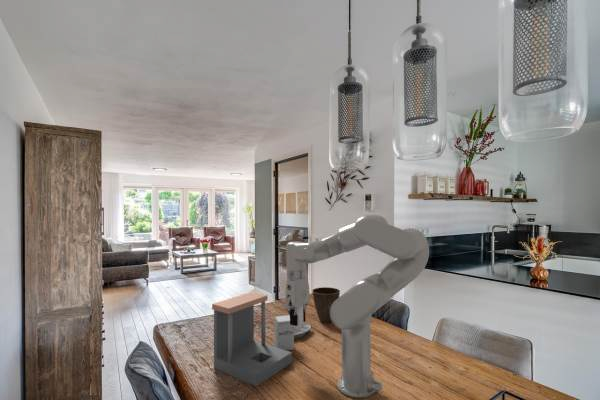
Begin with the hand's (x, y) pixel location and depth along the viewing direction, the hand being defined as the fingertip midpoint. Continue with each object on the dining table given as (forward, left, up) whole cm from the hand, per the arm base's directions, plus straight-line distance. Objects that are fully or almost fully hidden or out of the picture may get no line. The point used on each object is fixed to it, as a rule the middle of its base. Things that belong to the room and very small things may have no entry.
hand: (297, 322), depth 118 cm
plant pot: (+17, -50, -17) cm, 56 cm away
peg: (0, 0, -2) cm, 2 cm away
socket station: (+16, +8, -17) cm, 25 cm away
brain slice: (+22, -27, -18) cm, 39 cm away
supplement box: (+15, -11, -17) cm, 26 cm away
